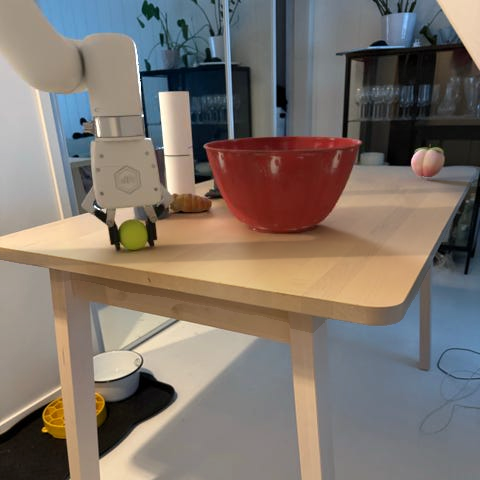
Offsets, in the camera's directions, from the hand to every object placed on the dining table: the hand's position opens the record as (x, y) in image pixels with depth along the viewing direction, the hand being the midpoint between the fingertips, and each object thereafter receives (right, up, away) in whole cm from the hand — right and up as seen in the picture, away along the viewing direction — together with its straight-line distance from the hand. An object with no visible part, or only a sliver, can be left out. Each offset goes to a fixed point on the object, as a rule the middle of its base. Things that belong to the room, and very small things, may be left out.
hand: (134, 245), depth 77 cm
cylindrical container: (+3, +19, +43) cm, 48 cm away
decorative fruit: (+74, +30, +61) cm, 100 cm away
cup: (-2, +10, +24) cm, 26 cm away
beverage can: (+13, +20, +45) cm, 50 cm away
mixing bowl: (+26, +6, +13) cm, 29 cm away
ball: (0, -1, 0) cm, 1 cm away
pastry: (+6, +13, +29) cm, 32 cm away
